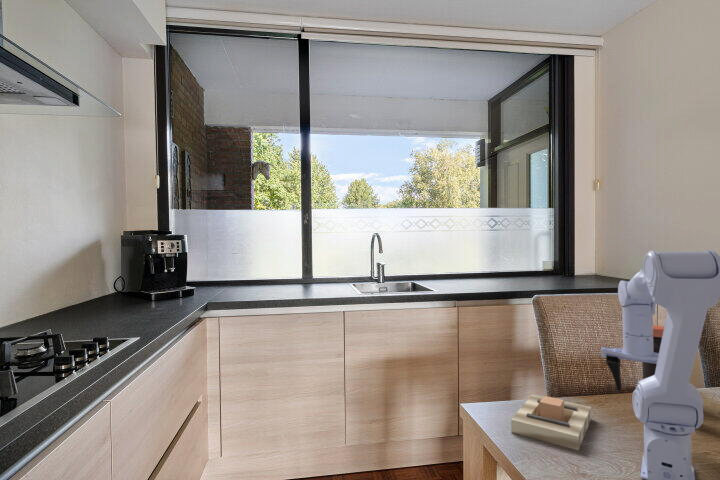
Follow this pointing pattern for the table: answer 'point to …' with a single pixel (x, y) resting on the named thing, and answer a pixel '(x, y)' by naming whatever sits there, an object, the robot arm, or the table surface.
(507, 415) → the table surface
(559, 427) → the slotted wooden holder
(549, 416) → the block
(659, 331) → the vinegar
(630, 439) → the table surface
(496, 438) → the table surface
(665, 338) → the robot arm
